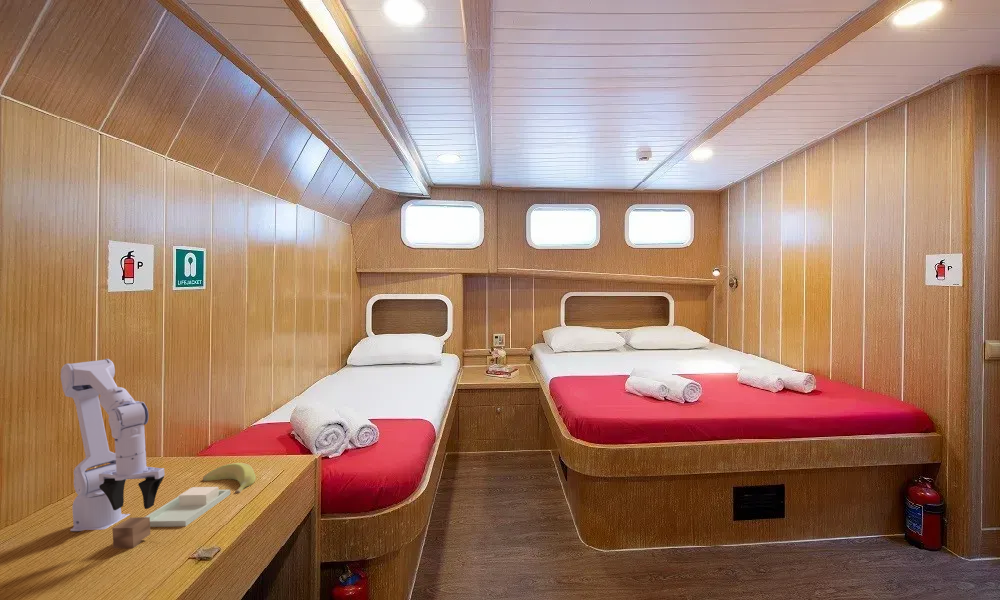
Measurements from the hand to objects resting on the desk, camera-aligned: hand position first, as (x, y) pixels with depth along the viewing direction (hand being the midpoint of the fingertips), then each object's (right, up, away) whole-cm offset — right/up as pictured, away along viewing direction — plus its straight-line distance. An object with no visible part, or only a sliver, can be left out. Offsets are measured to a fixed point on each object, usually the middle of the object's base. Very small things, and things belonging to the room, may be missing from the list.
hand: (133, 507), depth 109 cm
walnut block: (0, -9, 0) cm, 9 cm away
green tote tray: (+3, -8, +15) cm, 17 cm away
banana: (+5, -8, +31) cm, 33 cm away
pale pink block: (+3, -7, +20) cm, 21 cm away
